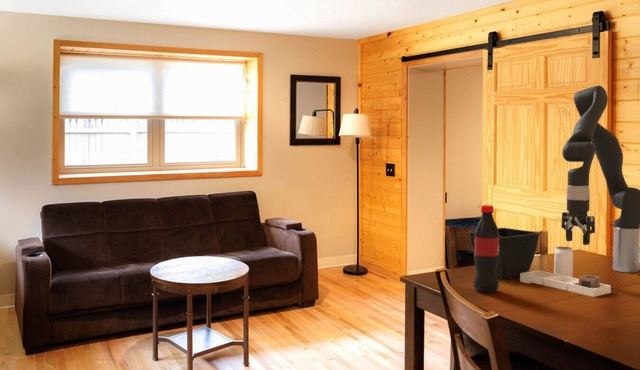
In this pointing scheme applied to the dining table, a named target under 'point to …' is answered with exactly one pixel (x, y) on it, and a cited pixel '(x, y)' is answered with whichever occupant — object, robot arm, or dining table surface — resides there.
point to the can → (563, 261)
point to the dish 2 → (559, 281)
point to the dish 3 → (589, 289)
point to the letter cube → (589, 281)
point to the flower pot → (514, 251)
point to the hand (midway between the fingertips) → (577, 242)
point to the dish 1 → (535, 276)
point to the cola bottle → (486, 252)
